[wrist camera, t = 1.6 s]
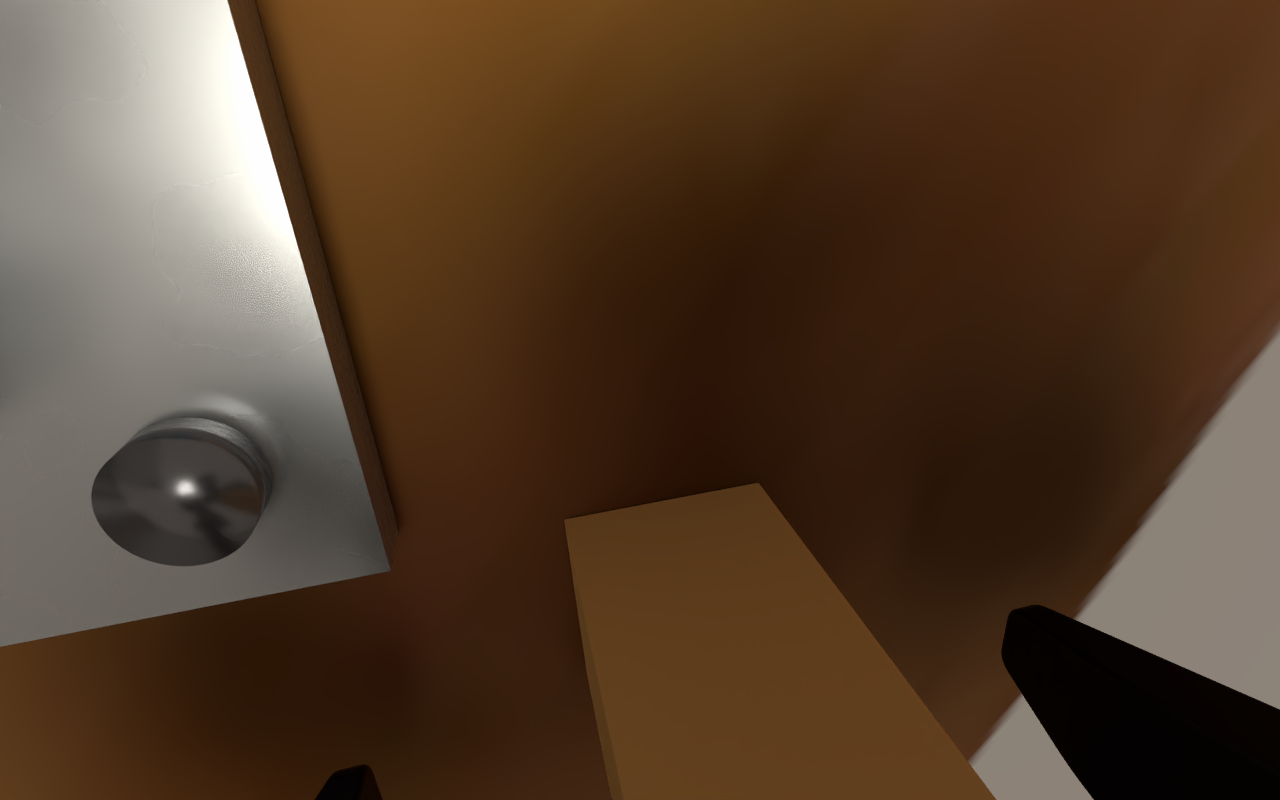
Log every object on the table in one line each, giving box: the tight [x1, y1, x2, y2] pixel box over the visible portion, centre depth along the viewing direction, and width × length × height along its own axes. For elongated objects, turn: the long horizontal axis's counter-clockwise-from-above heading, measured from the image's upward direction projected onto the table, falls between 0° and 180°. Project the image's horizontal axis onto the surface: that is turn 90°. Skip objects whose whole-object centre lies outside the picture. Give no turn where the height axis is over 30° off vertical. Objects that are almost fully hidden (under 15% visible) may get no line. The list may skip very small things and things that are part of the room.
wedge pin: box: [564, 483, 996, 800], centre depth 8 cm, size 3×3×8 cm
